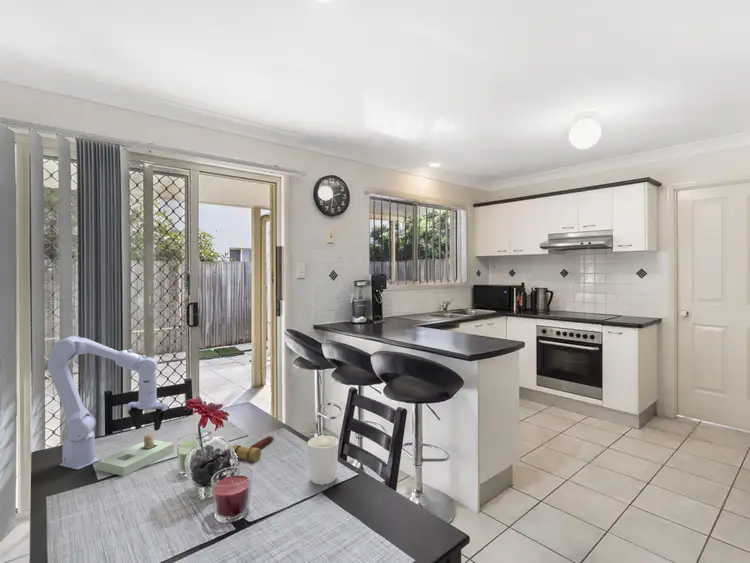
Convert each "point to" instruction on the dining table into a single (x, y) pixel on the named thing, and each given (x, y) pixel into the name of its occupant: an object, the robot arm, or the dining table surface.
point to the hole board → (134, 458)
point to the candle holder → (323, 459)
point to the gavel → (252, 450)
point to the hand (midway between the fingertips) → (147, 428)
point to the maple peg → (149, 442)
